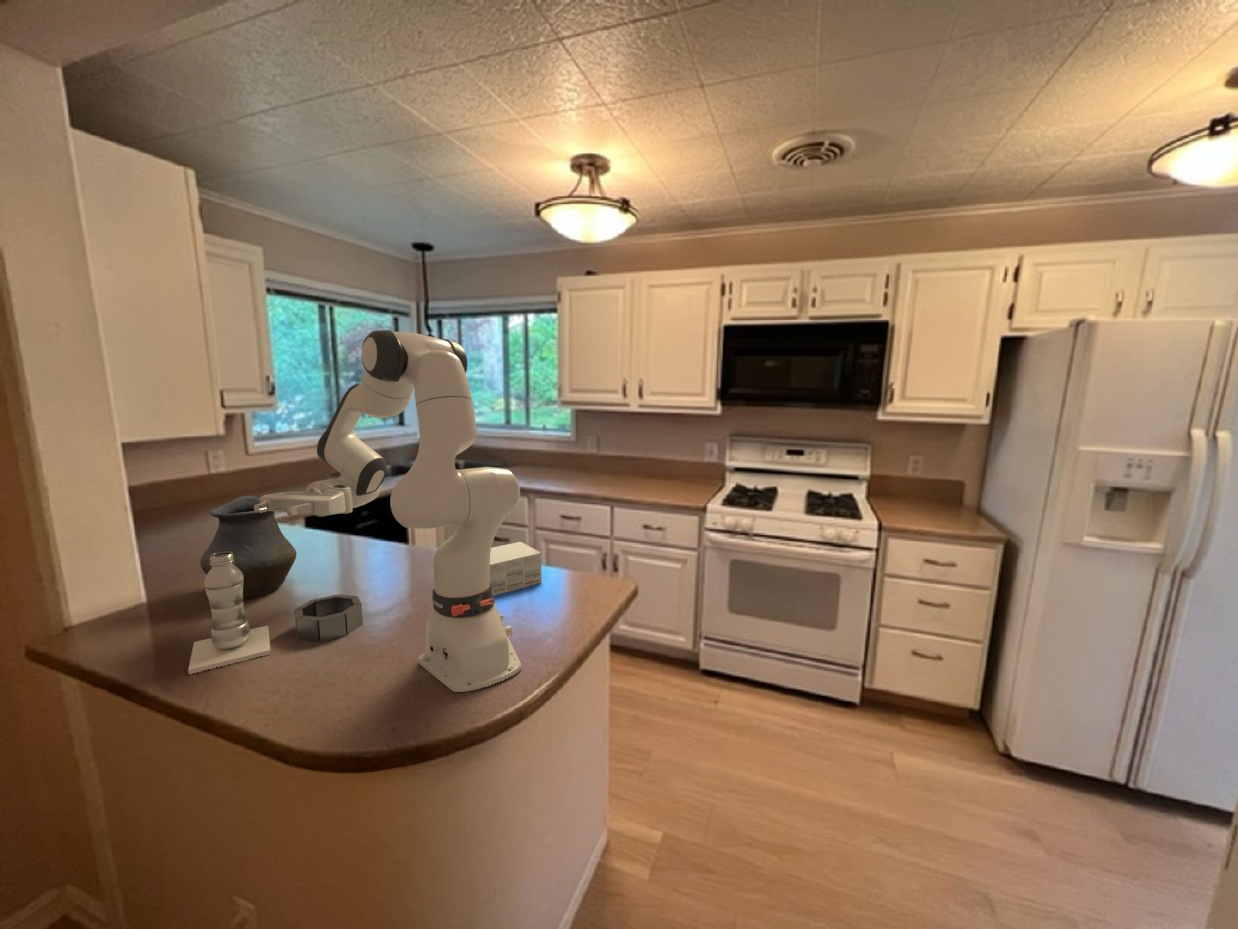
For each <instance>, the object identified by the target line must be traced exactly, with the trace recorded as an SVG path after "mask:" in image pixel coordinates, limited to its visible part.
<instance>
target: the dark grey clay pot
mask: <svg viewBox="0 0 1238 929" xmlns="http://www.w3.org/2000/svg"><path fill="white" fill-rule="evenodd" d="M257 504H260V497H259V498H258V497H257V496H254V495H244V496H240V497H237V498H235V499H233V500H231V501H229V502H227V503H225V504H222V505H220V506H218V507H214V508H213V509H211V510H210V515H211V517H215V518H218V521H219V522H218V526H217V529H216V532H215V534H214V537H213V540H212V541H211V543H210V544H209V546H208V548H206V550H205V551H204V553H203V554H202V556H201V558H200V561H199V562H200V563H199V564H200V567H201V569H202V571H203V573H204V574H206V575H207V574H208V572H209V571H210V570H211V568H212V566H210V556H211V555H213V554H216V553H220V552H232V553H233V559H234V562H232V563H233V565H235V566H236V567H237V568H238V569H239V570H240V571H241V572H242V574H243V579H244V580H243V600H244V599H249V598H253V597H258V596H261V595H264V594H268V593H270V592H273V591H275V590H276V589H278V588H279V587H281V586H282V585H283V584H284V583H285V581H286V579H287V577H288V574H289V572H290V571H291V570H292V568H293V565H294V563H295V561H296V559H297V550H296V548H295V547H294V545H293V544H292V543H291V542H290V541H289V540H288V539H287V538H286V537H285V535H284V534H283V532H282V530H281V528H280V526H279V524H278V521H277V519H276V516H275V511H266V512H262V513H258V512H255V511H254V506H255V505H257Z"/></svg>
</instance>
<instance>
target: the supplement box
mask: <svg viewBox="0 0 1238 929" xmlns="http://www.w3.org/2000/svg"><path fill="white" fill-rule="evenodd" d="M542 578H543V577H542V553H541V552H540V551H539V550H537V549H535V548H533V547H532V546H530V545H528V544H526V543H524V542H522V541H517V542H513V543H508V544H504V545H498V546H492V547H491V552H490V583H491V584H492V589H493V593H494V596H497V595H500V594H504V593H508V592H511V591H512V592H513V591H516V590H521V589H524V588H527V587H530V586H531V585H532V586H534V584H535V585H538V584H537V583H539V584H542V583H543V582H542Z"/></svg>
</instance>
